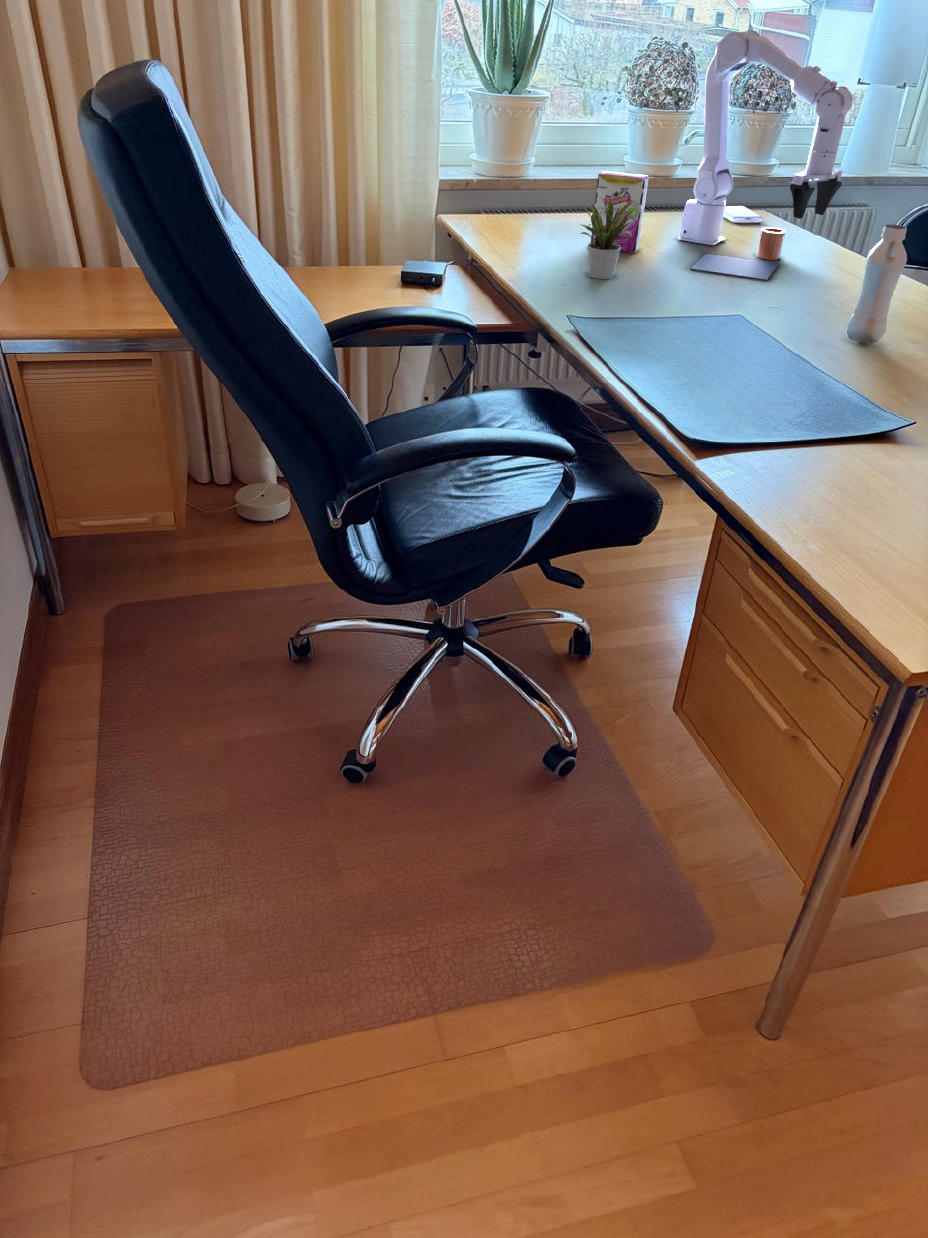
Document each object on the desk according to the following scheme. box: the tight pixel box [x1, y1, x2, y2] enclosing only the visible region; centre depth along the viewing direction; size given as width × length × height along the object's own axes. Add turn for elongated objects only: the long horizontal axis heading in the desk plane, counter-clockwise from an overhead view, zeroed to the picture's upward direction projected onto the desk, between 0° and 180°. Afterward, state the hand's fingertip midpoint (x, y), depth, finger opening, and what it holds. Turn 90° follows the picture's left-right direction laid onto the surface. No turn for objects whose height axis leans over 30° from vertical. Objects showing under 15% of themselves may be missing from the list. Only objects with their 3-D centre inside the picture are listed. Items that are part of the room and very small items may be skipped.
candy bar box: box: [590, 170, 650, 254], centre depth 214 cm, size 11×5×16 cm, turn 71°
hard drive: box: [723, 205, 763, 224], centre depth 250 cm, size 2×8×12 cm
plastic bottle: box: [846, 223, 908, 344], centre depth 163 cm, size 6×7×20 cm
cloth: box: [690, 253, 780, 282], centre depth 208 cm, size 17×15×1 cm
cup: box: [756, 226, 787, 261], centre depth 215 cm, size 5×5×6 cm
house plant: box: [577, 195, 639, 280], centre depth 195 cm, size 14×14×16 cm
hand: (808, 215), depth 211 cm, fingers open, 7 cm apart
